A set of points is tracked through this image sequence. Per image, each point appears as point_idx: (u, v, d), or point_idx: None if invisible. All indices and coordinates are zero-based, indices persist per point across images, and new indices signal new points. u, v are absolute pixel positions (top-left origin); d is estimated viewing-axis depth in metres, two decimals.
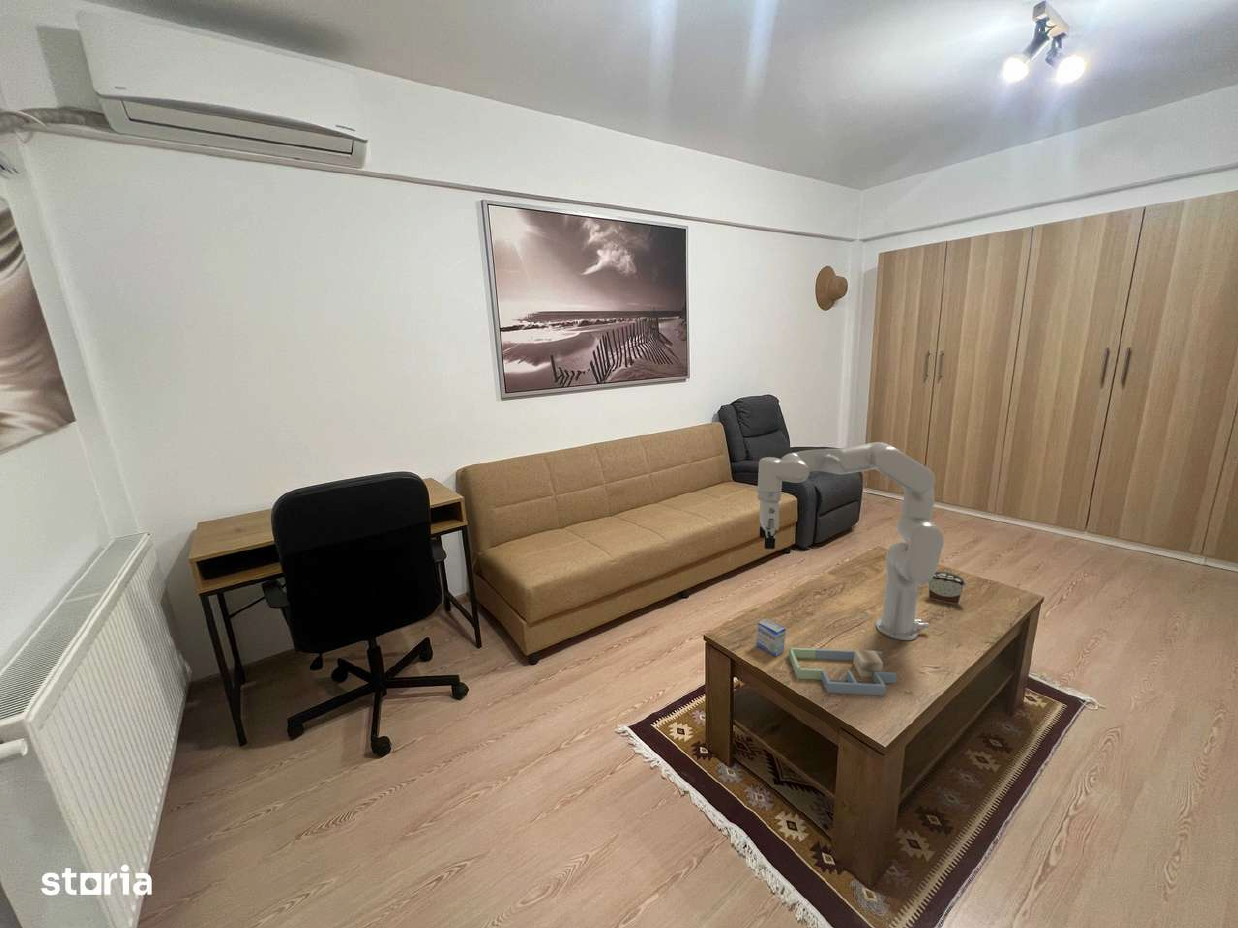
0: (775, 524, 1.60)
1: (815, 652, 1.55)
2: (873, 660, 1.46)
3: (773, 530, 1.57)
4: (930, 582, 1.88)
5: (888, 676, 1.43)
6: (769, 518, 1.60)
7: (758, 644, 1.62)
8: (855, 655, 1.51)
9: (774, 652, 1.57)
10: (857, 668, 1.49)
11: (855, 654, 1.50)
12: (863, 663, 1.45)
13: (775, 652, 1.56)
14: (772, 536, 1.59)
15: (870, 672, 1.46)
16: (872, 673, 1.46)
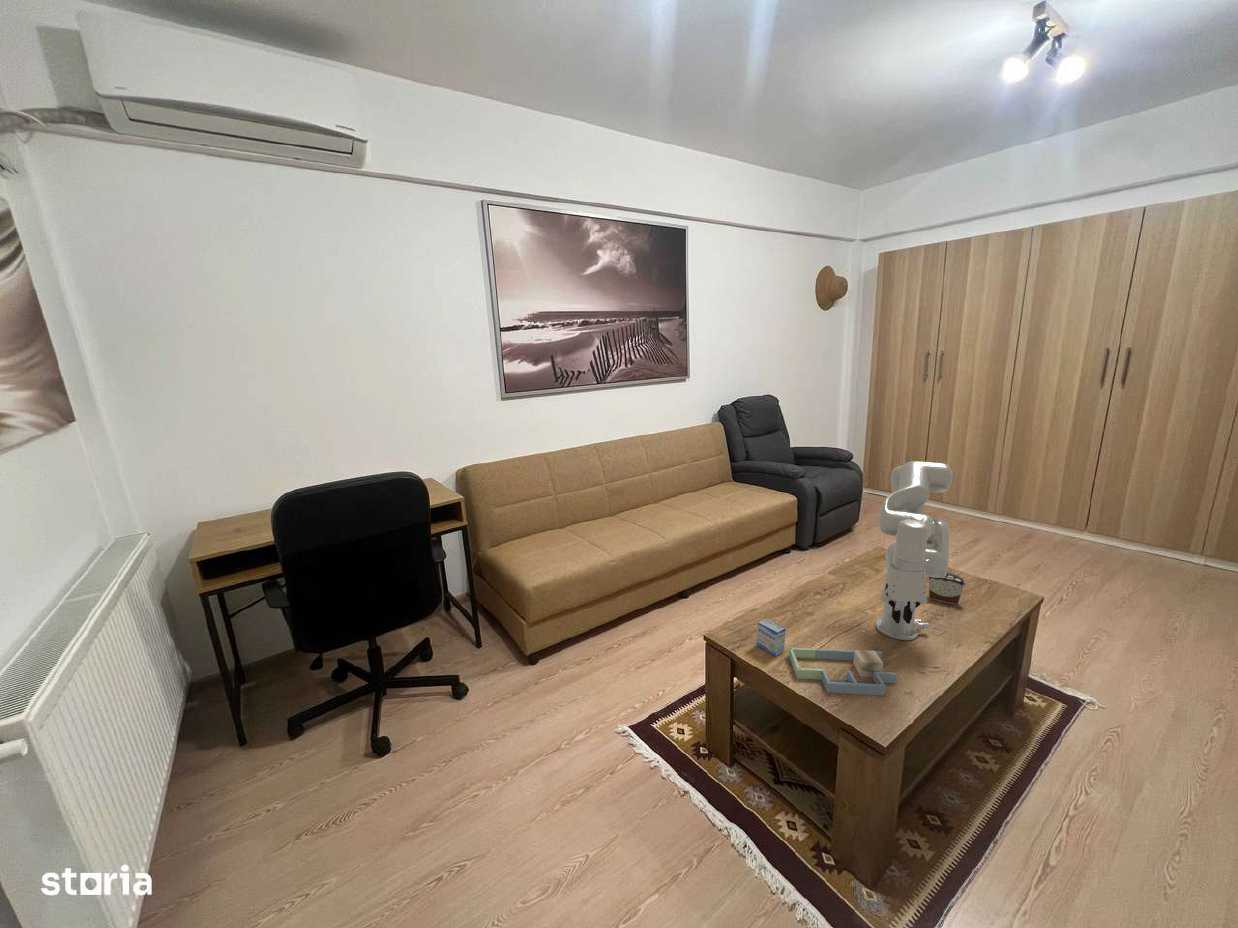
0: None
1: (815, 652, 1.55)
2: (873, 660, 1.46)
3: None
4: (930, 582, 1.88)
5: (888, 676, 1.43)
6: None
7: (758, 644, 1.62)
8: (855, 655, 1.51)
9: (774, 652, 1.57)
10: (857, 668, 1.49)
11: (855, 654, 1.50)
12: (863, 663, 1.45)
13: (775, 652, 1.56)
14: None
15: (870, 672, 1.46)
16: (872, 673, 1.46)
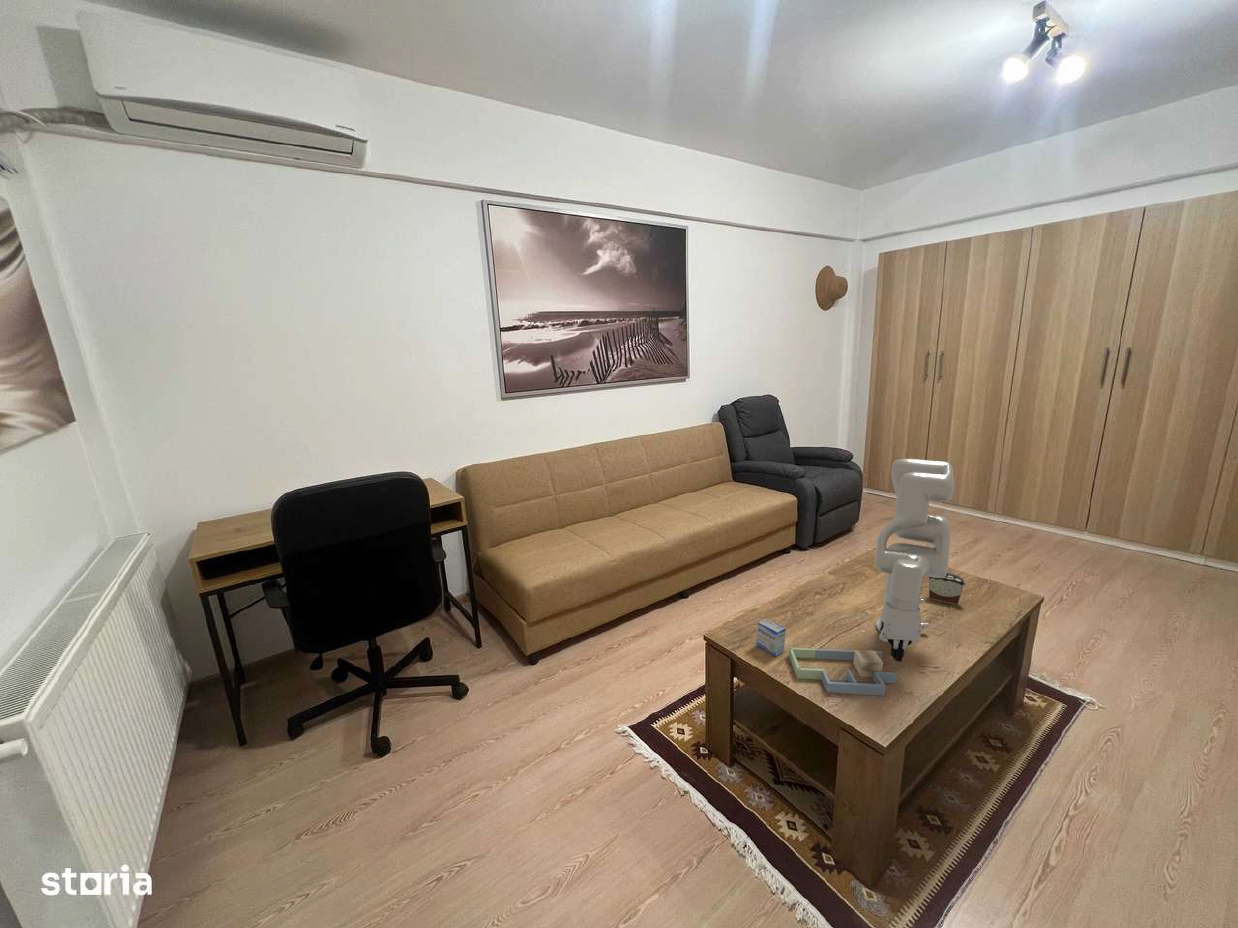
0: None
1: (815, 652, 1.55)
2: (873, 660, 1.46)
3: None
4: (930, 582, 1.88)
5: (888, 676, 1.43)
6: None
7: (758, 644, 1.62)
8: (855, 655, 1.51)
9: (774, 652, 1.57)
10: (857, 668, 1.49)
11: (855, 654, 1.50)
12: (863, 663, 1.45)
13: (775, 652, 1.56)
14: None
15: (870, 672, 1.46)
16: (872, 673, 1.46)
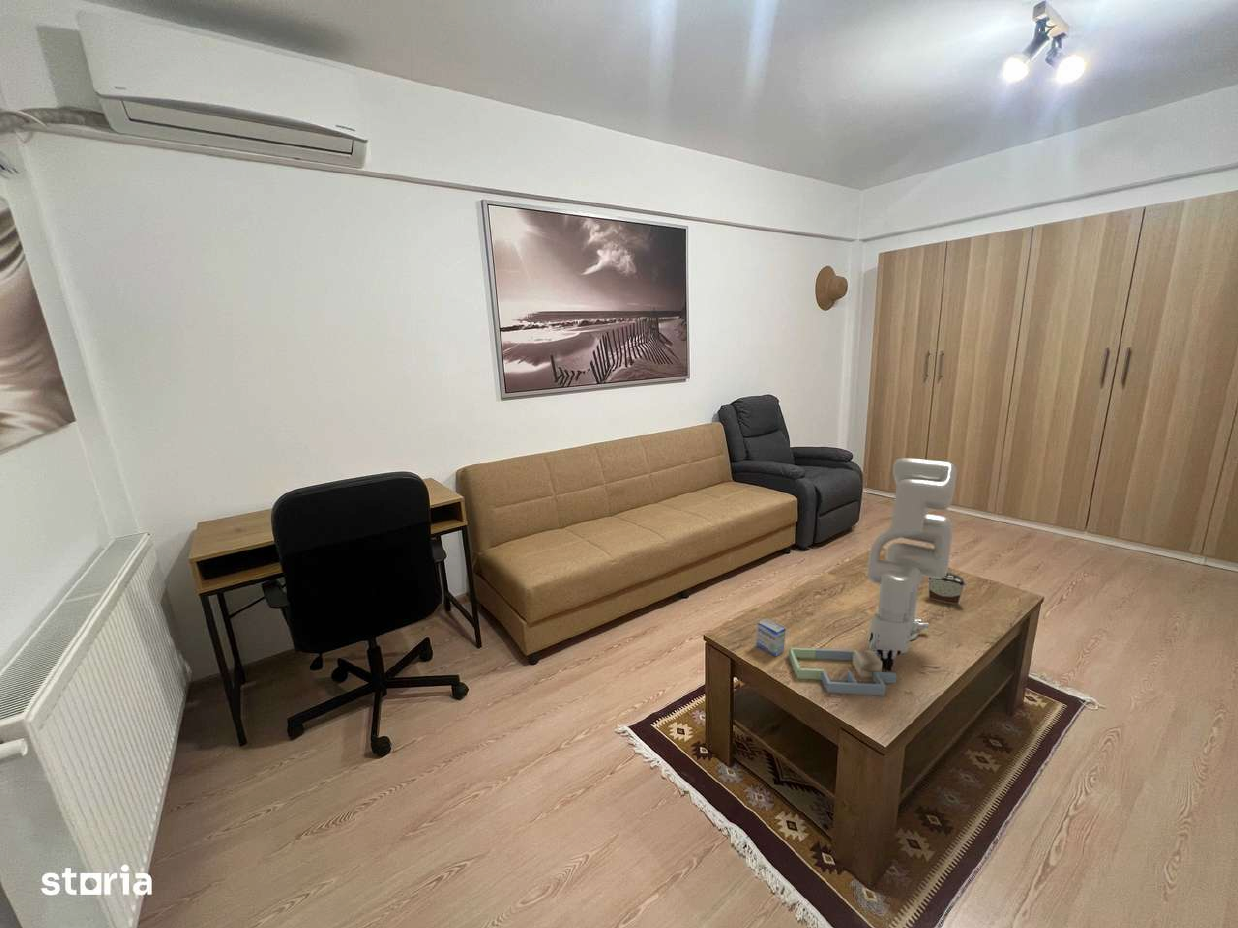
0: None
1: (815, 652, 1.55)
2: (872, 660, 1.46)
3: None
4: (930, 582, 1.88)
5: (888, 676, 1.43)
6: None
7: (758, 644, 1.62)
8: (854, 655, 1.51)
9: (774, 652, 1.57)
10: (857, 667, 1.49)
11: (854, 654, 1.50)
12: (863, 663, 1.45)
13: (775, 652, 1.56)
14: None
15: (870, 672, 1.46)
16: (872, 673, 1.46)
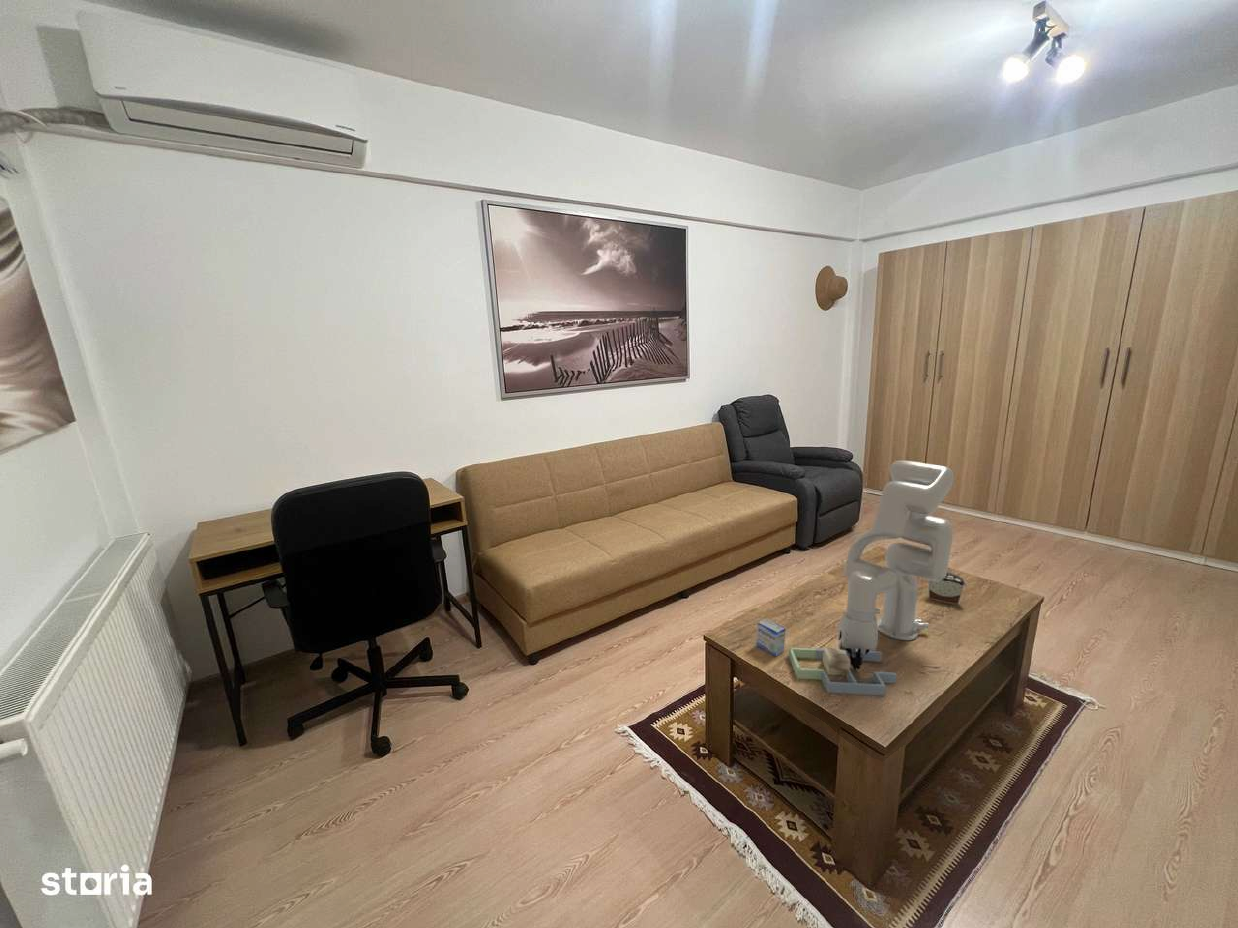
0: None
1: (815, 652, 1.55)
2: (841, 658, 1.47)
3: None
4: (930, 582, 1.88)
5: (888, 676, 1.43)
6: None
7: (758, 644, 1.62)
8: (824, 653, 1.52)
9: (774, 652, 1.57)
10: (826, 665, 1.50)
11: (824, 652, 1.52)
12: (831, 661, 1.47)
13: (775, 652, 1.56)
14: None
15: (838, 670, 1.47)
16: (840, 671, 1.47)
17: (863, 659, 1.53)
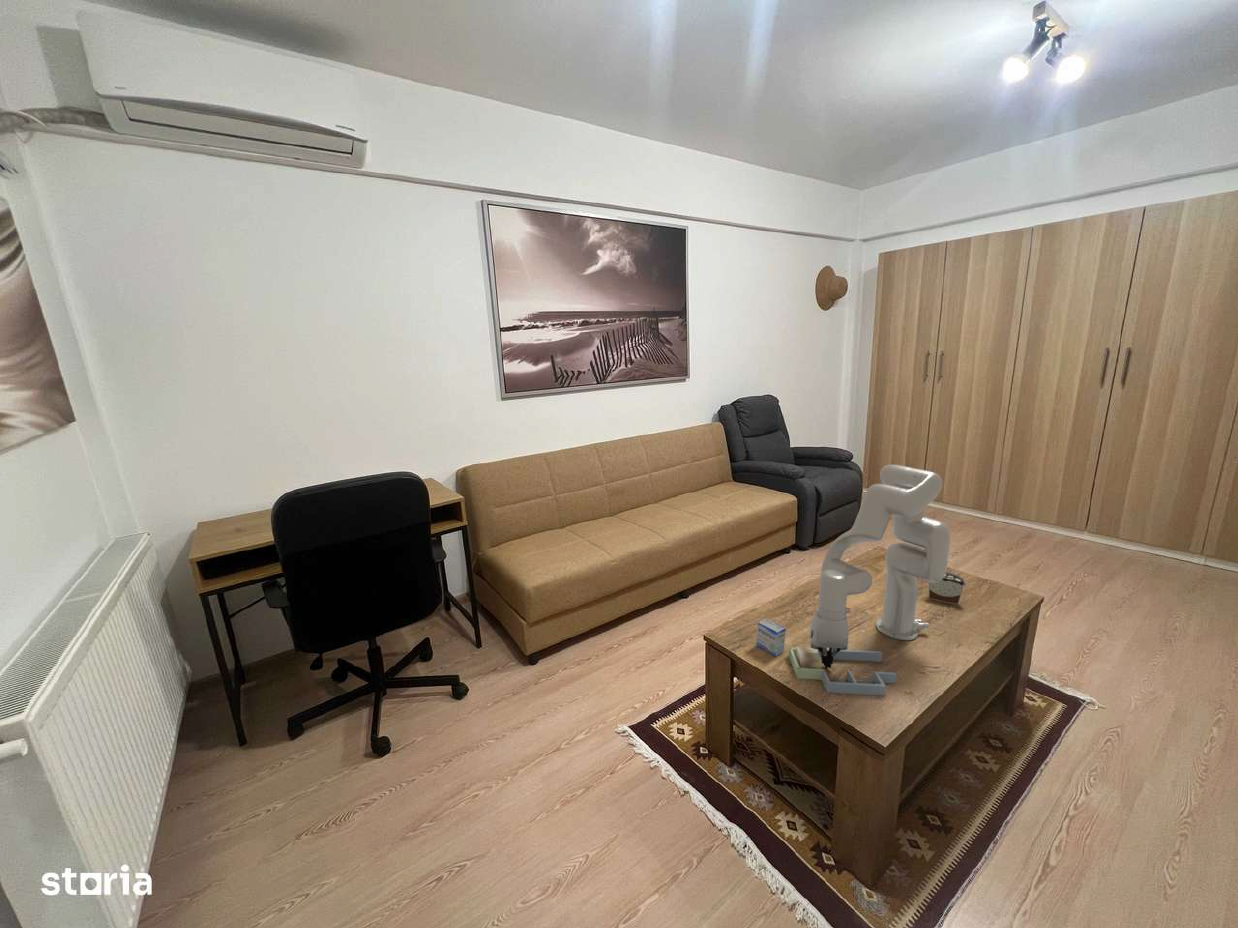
0: None
1: None
2: (812, 657, 1.48)
3: None
4: (930, 582, 1.88)
5: (888, 676, 1.43)
6: None
7: (758, 644, 1.62)
8: (796, 652, 1.53)
9: (774, 652, 1.57)
10: None
11: (796, 651, 1.53)
12: (802, 660, 1.48)
13: (775, 652, 1.56)
14: None
15: None
16: None
17: (863, 659, 1.53)
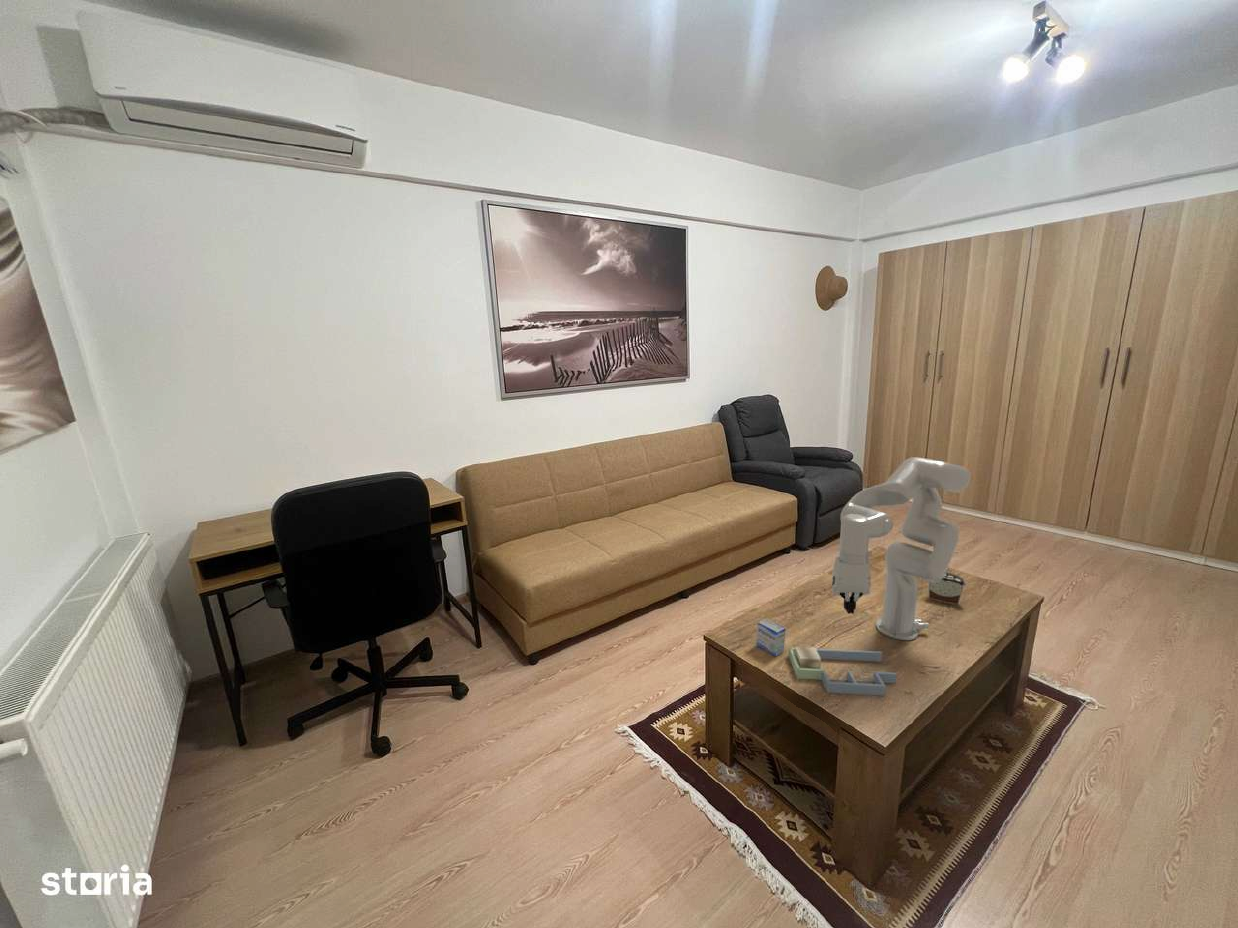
0: None
1: None
2: (812, 657, 1.48)
3: None
4: (930, 582, 1.88)
5: (888, 676, 1.43)
6: None
7: (758, 644, 1.62)
8: (795, 652, 1.53)
9: (774, 652, 1.57)
10: None
11: (796, 651, 1.53)
12: (802, 660, 1.48)
13: (775, 652, 1.56)
14: None
15: None
16: None
17: (863, 659, 1.53)
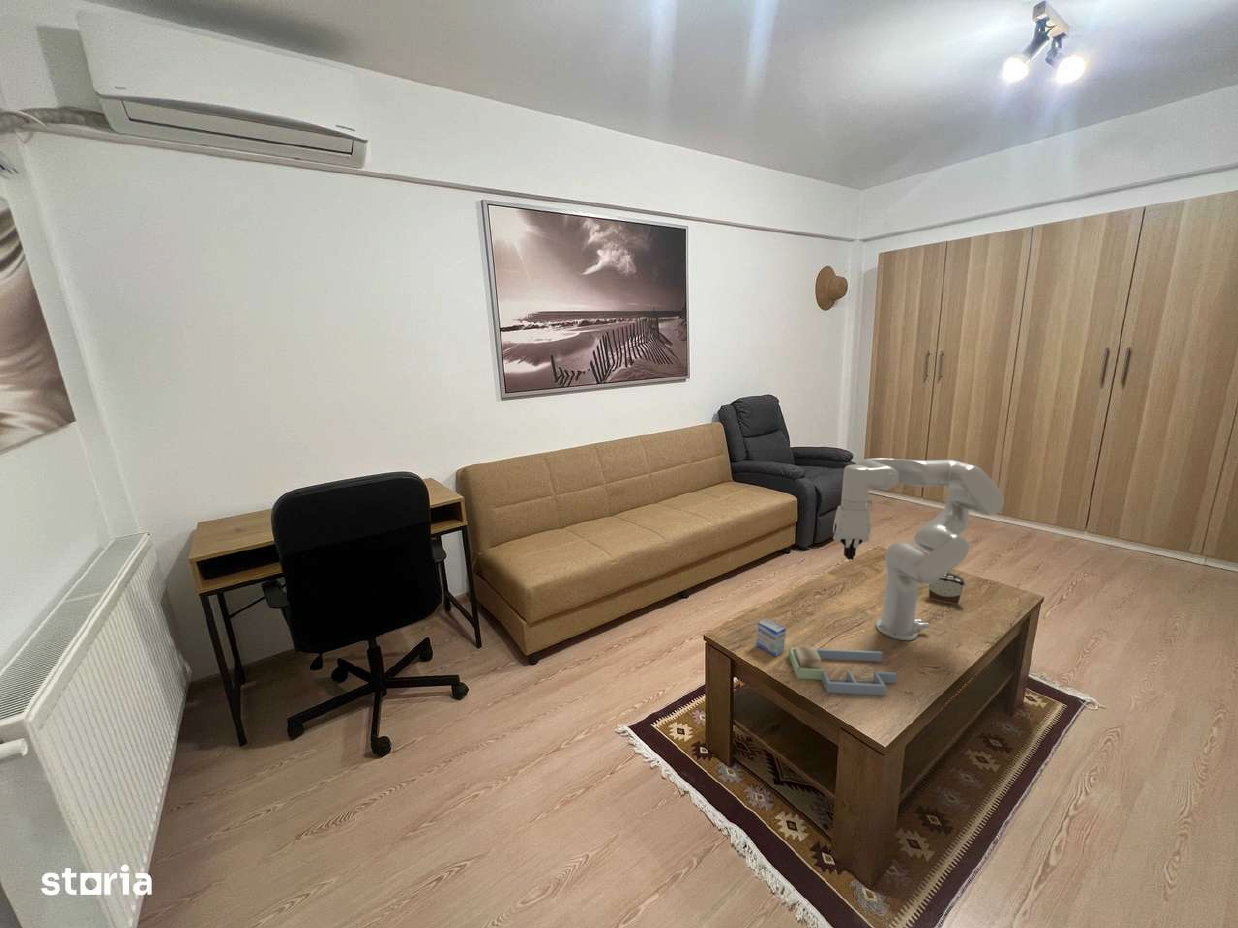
0: None
1: None
2: (812, 657, 1.48)
3: None
4: None
5: (888, 676, 1.43)
6: None
7: (758, 644, 1.62)
8: (795, 652, 1.53)
9: (774, 652, 1.57)
10: None
11: (796, 651, 1.53)
12: (802, 660, 1.48)
13: (775, 652, 1.56)
14: None
15: None
16: None
17: (863, 659, 1.53)
